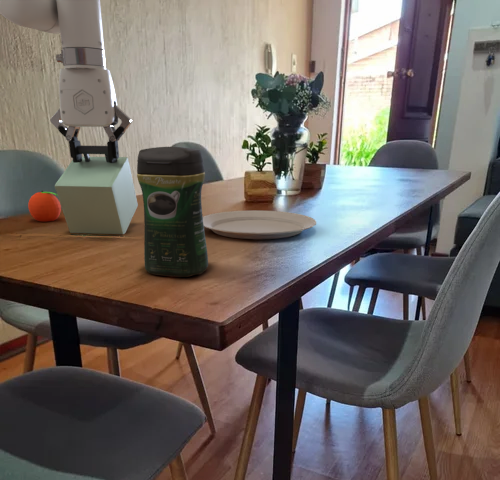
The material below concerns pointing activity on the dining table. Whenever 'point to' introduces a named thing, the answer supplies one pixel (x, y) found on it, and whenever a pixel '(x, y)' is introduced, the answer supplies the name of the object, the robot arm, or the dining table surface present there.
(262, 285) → the dining table surface
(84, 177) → the pale sage cube
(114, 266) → the dining table surface
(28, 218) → the dining table surface
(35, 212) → the clementine
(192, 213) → the coffee jar
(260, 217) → the plate
